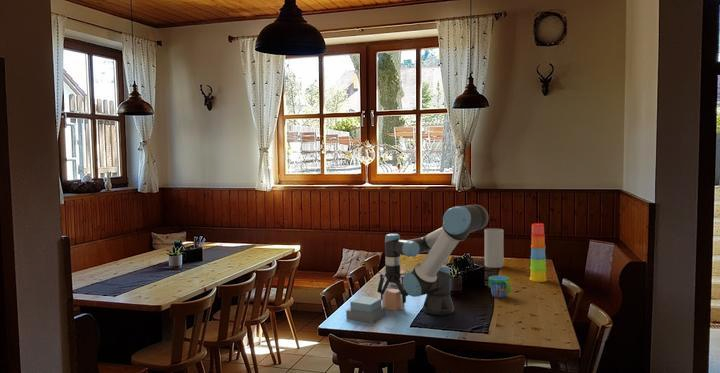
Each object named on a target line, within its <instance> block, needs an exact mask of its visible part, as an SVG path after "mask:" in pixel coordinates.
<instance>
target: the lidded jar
mask: <svg viewBox="0 0 720 373" xmlns="http://www.w3.org/2000/svg"><path fill="white" fill-rule="evenodd" d="M400 274H401V276H404V275H405V274H407V273H406V271H405V270H403V269H400ZM399 280H400V282H401V285H402V286H403V284H402V280H401V278H400V279H399ZM390 284H391V285H392V286H394V287H396V286H397V285H396V284H395V283H390Z"/></svg>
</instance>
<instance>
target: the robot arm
mask: <svg viewBox="0 0 720 373" xmlns="http://www.w3.org/2000/svg"><path fill="white" fill-rule="evenodd" d="M442 221H443V222H442V226H441V227H440V228H438V229H436V230H433V231H432V232H430V233H428V234H427V235H424V236H422V237H417V238H413V239H412V238H411V239H401V236H400V234H399V233H388V234H387V233H386V235H385V237H384V238H385V239H384V253H385V254H384V255H385V257H384V258H385V260H384V261H385V268H384V269H385V273H380V274H379V282H378V287H377V291H376V292H377V293H378V294H380V299H381V306H385V307H386V303H385V292H386V291H387V290H388V287H389V285H390V284H391V283H395V284H396V285H397V290H399V291H400V293H401V308H400V310H402V311H403V310H404V309H405V303H406V302H407V297H408V296H410V297H413V298H415V297H421V296H423V295H426V296H425V299H424V303H423V306H422V310H423V312H424V313H425V314H429V315H434V316H444V315H446V316H447V315H451V314H453V313H454V311H455V305H454V303H453V300H452V297H451V268H450V267H449V265H448V266H445V265H443V264H444V262H445V261H446V260H447V258H450V255H451V254H452V253H453V251H454V250H455V248H456V247H457V245H458V244H459V242H462V241H465V240H466V239H467V237H468V236H469V234H470V233H474V232H476V231H480V230H482V229H485V227H486V226H487V224H488V222H489V214H488V211H487V209H486V208H485V207H483V206H482V205H480V204H469V205H457V206H453V207H451V208H448V209H447V210H446V211H445V212H444V214H443V216H442ZM422 253H427V255H425V257H424V259H423V260H422V261H421V262H419V263H417V264H416V265H415V267H414V268H413V269H412V271H409V272H407V273H406V274H405V275H404V276H401V274H400V270H401V265H400V264H401V255H402V256H406V257H413V258H414V257H416V256H417V255H418V254H422ZM385 278H386V280H385ZM400 278H401V280H402V285H401V282H400V280H399V279H400ZM384 281H385V283H384Z"/></svg>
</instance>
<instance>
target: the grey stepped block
mask: <svg viewBox="0 0 720 373" xmlns="http://www.w3.org/2000/svg"><path fill="white" fill-rule="evenodd" d="M349 305H350V307H349V308H348V309H346V311H345V312H346V315H345V316H346V318H345V319H347V320H353V321H359V322H366V323H371V324H372V323H374V322H376V321H377V320H379V319H380V318H382V317H384V316H385V315H386V310H387V309H386V306H382V300H381V298H378V297H371V296H364V295H361V296H359V297H357V298H355V299H354V300H351V301H350V304H349Z"/></svg>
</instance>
